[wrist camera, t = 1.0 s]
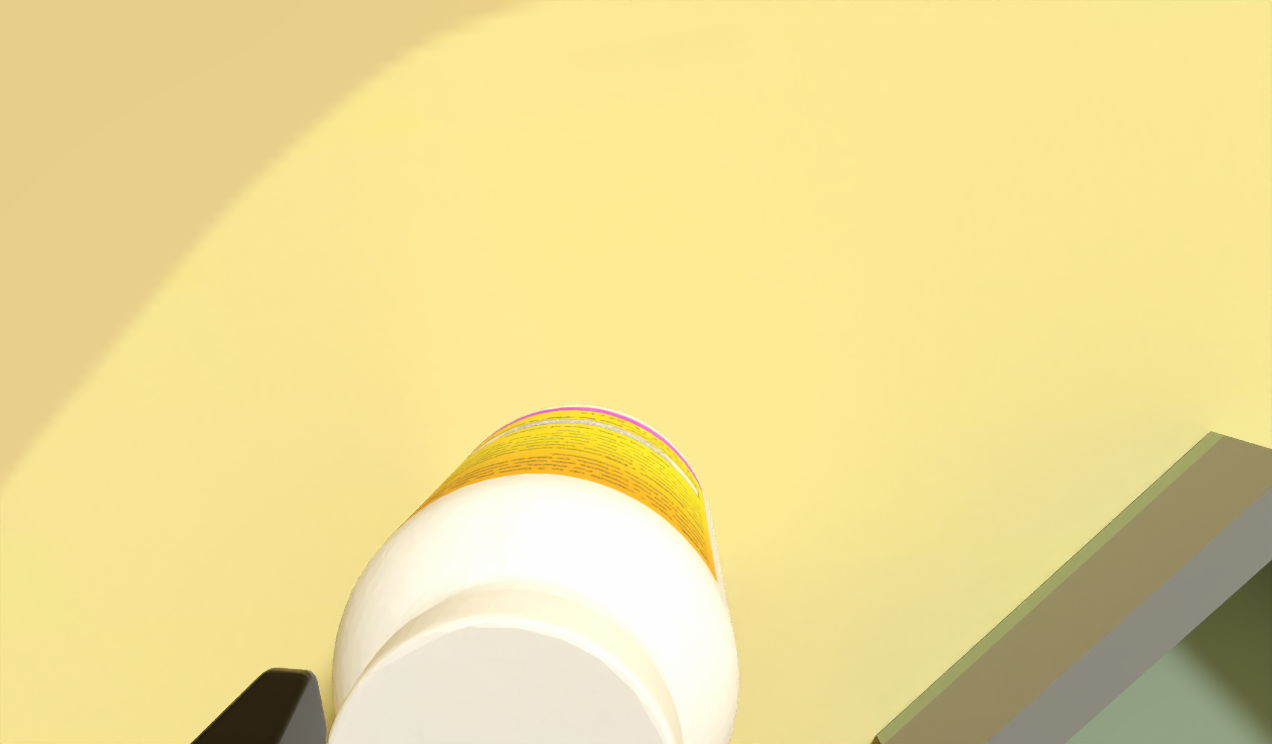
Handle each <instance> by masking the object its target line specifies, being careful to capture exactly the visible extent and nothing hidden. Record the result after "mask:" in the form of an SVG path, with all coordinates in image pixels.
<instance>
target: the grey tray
mask: <svg viewBox="0 0 1272 744" xmlns="http://www.w3.org/2000/svg"><path fill="white" fill-rule="evenodd" d="M877 737H878V739H879V741H880V743H881V744H1272V449H1269V448H1266V447H1262V446H1259V445H1255V444H1252V443H1249V442H1245V441H1242V440H1239V439H1235V438H1232V437H1228V436H1225V435H1222V434H1218V433H1215V432H1210V433H1209V434H1208V435H1207V436H1205V437H1204V438H1203V439H1202V440H1201V441H1200V442H1199V443H1198V444H1197V445H1196V446H1194V447H1193V448H1192V449H1191V450H1190V451H1189V452H1188V453H1187V454H1186V455H1185V456H1183V457H1182V458H1181V459H1180V460H1179V461H1178V462H1177V463H1176V464H1175V465H1174V466H1172V467H1171V468H1170V469H1169V470H1168V471H1167V472H1166V473H1165V474H1164V475H1163V476H1161V477H1160V478H1159V479H1158V480H1157V481H1156V482H1155V483H1154V484H1153V485H1152V486H1150V487H1149V488H1148V489H1147V490H1146V491H1145V492H1144V493H1143V494H1142V495H1141V496H1139V497H1138V498H1137V499H1136V500H1135V501H1134V502H1133V503H1132V504H1131V505H1130V506H1128V507H1127V508H1126V509H1125V510H1124V511H1123V512H1122V513H1121V514H1120V515H1119V516H1117V517H1116V518H1115V519H1114V520H1113V521H1112V522H1111V523H1110V524H1109V525H1108V526H1106V527H1105V528H1104V529H1103V530H1102V531H1101V532H1100V533H1099V534H1098V535H1097V536H1095V537H1094V538H1093V539H1092V540H1091V541H1090V542H1089V543H1088V544H1087V545H1086V546H1084V547H1083V548H1082V549H1081V550H1080V551H1079V552H1078V553H1077V554H1076V555H1075V556H1073V557H1072V558H1071V559H1070V560H1069V561H1068V562H1067V563H1066V564H1065V565H1064V566H1062V567H1061V568H1060V569H1059V570H1058V571H1057V572H1056V573H1055V574H1054V575H1053V576H1051V577H1050V578H1049V579H1048V580H1047V581H1046V582H1045V583H1044V584H1043V585H1042V586H1040V587H1039V588H1038V589H1037V590H1036V591H1035V592H1034V593H1033V594H1032V595H1031V596H1029V597H1028V598H1027V599H1026V600H1025V601H1024V602H1023V603H1022V604H1021V605H1020V606H1018V607H1017V608H1016V609H1015V610H1014V611H1013V612H1012V613H1011V614H1010V615H1009V616H1007V617H1006V618H1005V619H1004V620H1003V621H1002V622H1001V623H1000V624H999V625H998V626H996V627H995V628H994V629H993V630H992V631H991V632H990V633H989V634H988V635H987V636H985V637H984V638H983V639H982V640H981V641H980V642H979V643H978V644H977V645H976V646H974V647H973V648H972V649H971V650H970V651H969V652H968V653H967V654H966V655H965V656H963V657H962V658H961V659H960V660H959V661H958V662H957V663H956V664H955V665H954V666H952V667H951V668H950V669H949V670H948V671H947V672H946V673H945V674H944V675H943V676H941V677H940V678H939V679H938V680H937V681H936V682H935V683H934V684H933V685H932V686H930V687H929V688H928V689H927V690H926V691H925V692H924V693H923V694H922V695H921V696H919V697H918V698H917V699H916V700H915V701H914V702H913V703H912V704H911V705H910V706H908V707H907V708H906V709H905V710H904V711H903V712H902V713H901V714H900V715H899V716H897V717H896V718H895V719H894V720H893V721H892V722H891V723H890V724H889V725H888V726H886V727H885V728H884V729H883V730H882V731H881V732H880V733H879V734H878V735H877Z"/></svg>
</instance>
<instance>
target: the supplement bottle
mask: <svg viewBox="0 0 1272 744" xmlns="http://www.w3.org/2000/svg"><path fill="white" fill-rule="evenodd" d="M332 691H333V703H334V711H335V716H336V718H335V720H334V723H333V725H332V728H331V730H330V734H329V738H328V742H327V744H729V742H730V739H731V736H732V732H733V727H734V722H735V717H736V712H737V703H738V695H739V665H738V656H737V649H736V643H735V637H734V632H733V627H732V623H731V619H730V614H729V609H728V604H727V599H726V594H725V588H724V583H723V577H722V572H721V566H720V561H719V555H718V550H717V544H716V538H715V533H714V528H713V523H712V518H711V513H710V509H709V505H708V502H707V499H706V496H705V493H704V491H703V488H702V486H701V483H700V481H699V479H698V477H697V475H696V473H695V472H694V470H693V469H692V467H691V466H690V464H689V462H688V461H687V460H686V458H685V457H684V456H683V455H682V453H681V452H680V451H679V450H678V449H677V448H676V447H675V446H674V445H673V444H672V443H671V442H670V441H669V440H668V439H667V438H666V437H665V436H663V435H662V434H661V433H660V432H658V431H657V430H656V429H654V428H652V427H651V426H649V425H648V424H646V423H644V422H643V421H641V420H639V419H637V418H634V417H632V416H630V415H627V414H625V413H623V412H619V411H616V410H612V409H609V408H604V407H600V406H592V405H562V406H556V407H550V408H544V409H541V410H538V411H534V412H531V413H528V414H526V415H524V416H521V417H519V418H517V419H515V420H513V421H511V422H509V423H508V424H506V425H505V426H503V427H501V428H500V429H498V430H497V431H496V432H494V433H493V434H492V435H491V436H489V437H488V438H487V439H486V440H485V441H483V442H482V443H481V444H480V445H479V446H478V447H477V448H476V449H475V450H474V451H473V452H472V453H471V454H470V455H469V456H468V458H467V459H466V460H465V461H464V462H463V463H462V464H461V465H460V466H459V467H458V468H457V469H456V470H455V471H454V472H453V473H452V474H451V475H450V476H449V477H448V478H447V479H446V480H445V481H444V482H443V483H442V484H441V486H440V487H439V488H438V489H437V490H436V491H435V492H434V493H433V494H432V495H431V496H430V497H429V498H428V499H427V500H426V501H425V502H424V503H423V504H422V505H421V506H420V507H419V508H418V509H417V510H416V511H415V512H414V513H413V514H412V515H411V516H410V517H409V518H408V519H407V520H406V521H405V522H404V523H403V524H402V525H401V526H400V527H399V528H398V529H397V530H396V531H395V532H394V533H393V534H392V535H391V537H390V538H389V539H388V540H387V541H386V542H385V543H384V545H383V546H382V547H381V548H380V549H379V550H378V551H377V553H376V554H375V555H374V557H373V558H372V559H371V561H370V562H369V563H368V565H367V566H366V568H365V569H364V571H363V572H362V574H361V575H360V577H359V579H358V581H357V583H356V585H355V587H354V588H353V590H352V592H351V595H350V597H349V599H348V602H347V604H346V607H345V609H344V612H343V615H342V619H341V622H340V625H339V629H338V632H337V636H336V642H335V650H334V657H333V669H332Z"/></svg>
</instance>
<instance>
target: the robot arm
mask: <svg viewBox="0 0 1272 744" xmlns="http://www.w3.org/2000/svg"><path fill="white" fill-rule="evenodd" d="M191 744H326V722H325V717H324V712H323V707H322V702H321V696H320V691H319V686H318V681H317V679H316V676H315V675H314V674H313V673H312V672H311V671H309V670H301V669H288V668H271V669H269V670H267V671H265V672H264V673H262V674H261V675H260V676H259V677H258V678H257V679H256V680H255V681H254V682H253V683H252V684H251V685H250V686H249V687H248V688H247V689H246V690H245V691H244V692H243V693H242V694H241V695H240V696H238V697H237V698H236V699H235V700H234V701H233V702H232V703H231V704H230V705H229V706H228V707H227V708H226V709H225V710H224V711H223V712H222V713H221V714H220V715H219V716H218V717H217V718H216V719H215V720H214V721H213V722H212V723H211V724H210V725H209V726H208V727H207V728H206V729H205V730H204V731H203V732H202V733H201V734H200V735H199V736H198V737H197V738H196V739H195V740H194V741H193V742H192V743H191Z"/></svg>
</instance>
